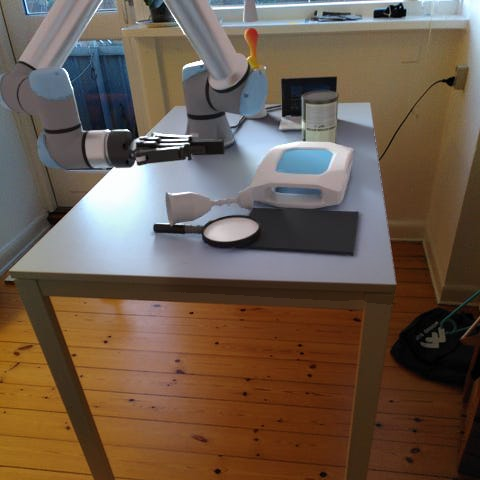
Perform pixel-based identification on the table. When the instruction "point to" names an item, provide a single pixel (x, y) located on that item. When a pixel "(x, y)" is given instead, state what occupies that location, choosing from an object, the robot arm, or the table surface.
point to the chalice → (200, 205)
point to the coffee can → (319, 116)
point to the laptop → (292, 97)
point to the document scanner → (303, 174)
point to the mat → (305, 231)
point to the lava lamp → (253, 45)
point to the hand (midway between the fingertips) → (223, 146)
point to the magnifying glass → (219, 231)
